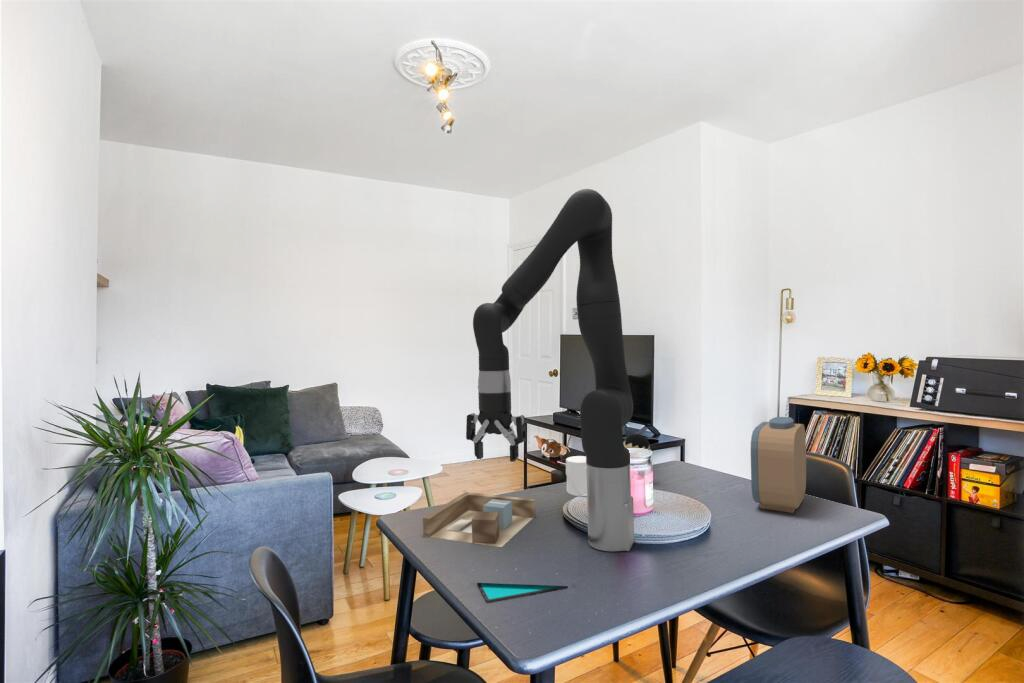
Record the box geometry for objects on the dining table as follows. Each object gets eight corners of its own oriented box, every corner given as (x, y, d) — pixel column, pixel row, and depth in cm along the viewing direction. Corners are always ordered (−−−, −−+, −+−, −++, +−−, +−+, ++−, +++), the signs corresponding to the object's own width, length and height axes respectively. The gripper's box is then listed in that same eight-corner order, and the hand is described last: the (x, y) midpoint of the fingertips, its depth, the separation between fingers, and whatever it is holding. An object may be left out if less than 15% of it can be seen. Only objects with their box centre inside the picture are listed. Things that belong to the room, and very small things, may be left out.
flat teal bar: (476, 581, 96) (553, 568, 101) (476, 586, 96) (553, 573, 101) (486, 600, 89) (568, 586, 94) (486, 605, 89) (568, 590, 94)
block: (512, 522, 124) (511, 500, 124) (503, 529, 119) (503, 507, 119) (493, 520, 126) (492, 498, 126) (483, 527, 121) (483, 505, 121)
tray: (535, 520, 128) (535, 499, 128) (501, 552, 110) (501, 527, 110) (466, 512, 136) (465, 492, 136) (423, 541, 117) (422, 517, 117)
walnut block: (499, 534, 117) (498, 512, 117) (495, 543, 112) (494, 520, 112) (477, 534, 117) (476, 511, 117) (472, 543, 112) (471, 519, 112)
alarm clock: (767, 490, 146) (765, 412, 146) (806, 496, 141) (805, 415, 140) (751, 512, 130) (749, 424, 129) (795, 519, 124) (793, 427, 124)
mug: (559, 457, 153) (582, 454, 156) (559, 490, 153) (582, 485, 156) (582, 466, 142) (607, 462, 146) (583, 501, 142) (607, 496, 146)
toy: (650, 481, 158) (649, 431, 158) (654, 488, 151) (653, 436, 151) (621, 482, 159) (620, 432, 159) (623, 488, 152) (622, 436, 152)
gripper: (529, 388, 123) (530, 458, 123) (474, 387, 129) (476, 454, 129) (516, 392, 116) (518, 466, 116) (459, 391, 122) (461, 461, 122)
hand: (496, 459), depth 123 cm, fingers open, 8 cm apart
